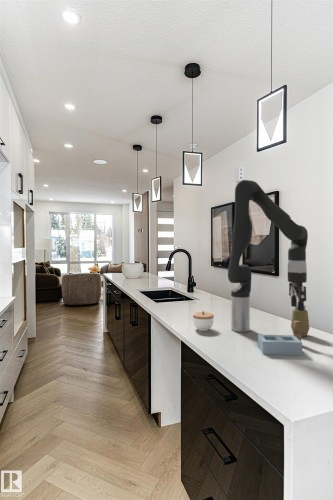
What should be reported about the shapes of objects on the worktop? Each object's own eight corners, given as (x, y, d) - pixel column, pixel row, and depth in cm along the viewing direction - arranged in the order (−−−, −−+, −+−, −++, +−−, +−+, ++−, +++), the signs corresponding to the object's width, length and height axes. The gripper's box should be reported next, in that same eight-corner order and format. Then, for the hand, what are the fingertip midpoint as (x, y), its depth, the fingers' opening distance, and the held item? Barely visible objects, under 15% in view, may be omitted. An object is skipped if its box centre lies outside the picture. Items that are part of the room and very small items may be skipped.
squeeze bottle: (299, 331, 144) (299, 295, 144) (313, 336, 136) (313, 298, 136) (287, 333, 141) (287, 296, 141) (300, 338, 133) (300, 299, 133)
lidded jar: (213, 333, 143) (213, 314, 143) (191, 331, 145) (191, 313, 145) (214, 327, 153) (214, 309, 153) (194, 326, 155) (193, 308, 155)
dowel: (292, 343, 127) (292, 320, 127) (299, 343, 127) (299, 320, 126) (295, 345, 124) (295, 322, 124) (302, 345, 124) (302, 322, 123)
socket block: (257, 346, 123) (257, 334, 123) (294, 347, 122) (294, 335, 122) (262, 354, 114) (262, 341, 114) (302, 355, 113) (302, 342, 113)
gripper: (283, 269, 132) (283, 305, 132) (293, 272, 118) (293, 312, 118) (300, 269, 131) (300, 305, 131) (312, 272, 117) (313, 312, 117)
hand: (297, 308), depth 125 cm, fingers open, 8 cm apart
